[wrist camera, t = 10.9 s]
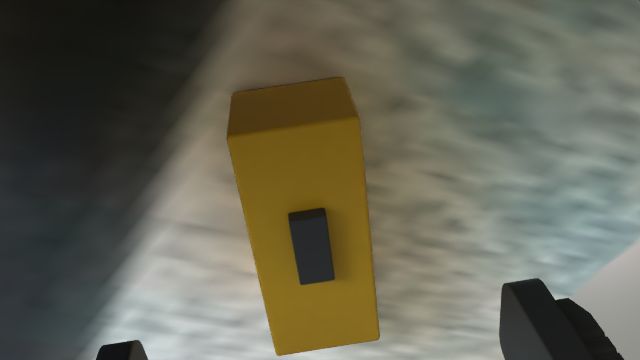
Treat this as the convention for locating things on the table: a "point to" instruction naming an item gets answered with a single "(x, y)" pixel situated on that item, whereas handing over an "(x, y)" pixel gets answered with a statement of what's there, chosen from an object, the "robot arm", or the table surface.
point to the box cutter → (306, 212)
